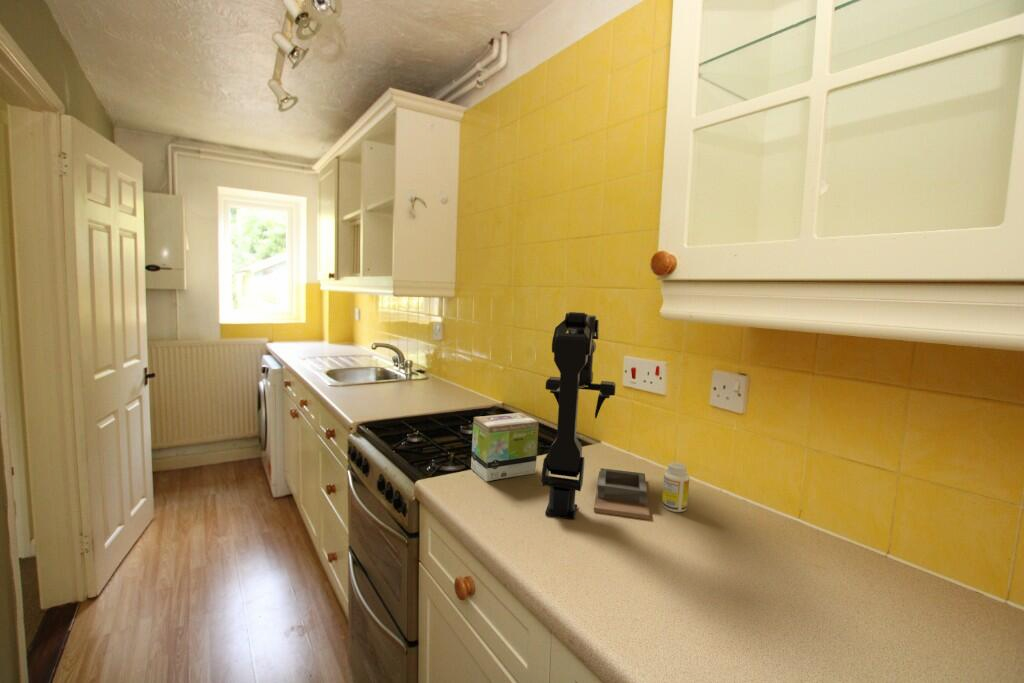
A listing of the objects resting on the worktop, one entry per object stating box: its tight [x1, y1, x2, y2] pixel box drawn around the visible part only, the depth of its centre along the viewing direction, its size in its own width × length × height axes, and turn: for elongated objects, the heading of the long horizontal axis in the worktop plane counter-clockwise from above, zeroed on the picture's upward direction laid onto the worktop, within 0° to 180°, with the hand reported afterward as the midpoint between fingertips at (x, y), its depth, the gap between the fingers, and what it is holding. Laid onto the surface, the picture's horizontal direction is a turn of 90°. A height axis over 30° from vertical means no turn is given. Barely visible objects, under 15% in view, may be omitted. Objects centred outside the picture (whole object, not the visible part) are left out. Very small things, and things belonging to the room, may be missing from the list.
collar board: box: [593, 467, 650, 521], centre depth 114 cm, size 22×12×4 cm, turn 167°
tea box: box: [470, 412, 540, 483], centre depth 125 cm, size 15×10×15 cm
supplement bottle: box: [661, 461, 690, 513], centre depth 108 cm, size 6×6×10 cm
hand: (578, 416), depth 130 cm, fingers open, 9 cm apart
